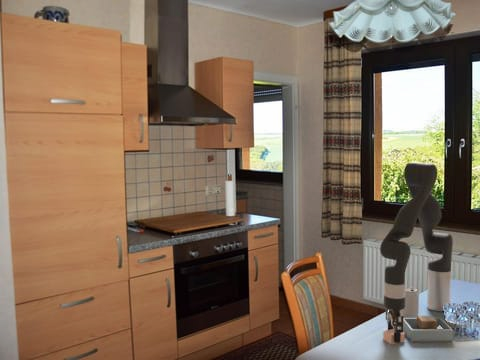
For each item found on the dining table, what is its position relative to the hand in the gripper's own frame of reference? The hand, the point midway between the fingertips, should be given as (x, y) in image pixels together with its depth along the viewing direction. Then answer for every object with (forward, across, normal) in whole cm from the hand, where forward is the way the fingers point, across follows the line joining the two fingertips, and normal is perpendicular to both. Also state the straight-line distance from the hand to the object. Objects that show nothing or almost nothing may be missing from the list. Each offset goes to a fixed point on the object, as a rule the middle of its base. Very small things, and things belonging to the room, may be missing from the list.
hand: (393, 337), depth 178 cm
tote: (+1, +5, -14) cm, 14 cm away
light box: (+1, 0, 0) cm, 1 cm away
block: (0, +5, -14) cm, 14 cm away
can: (+1, +24, -13) cm, 27 cm away
